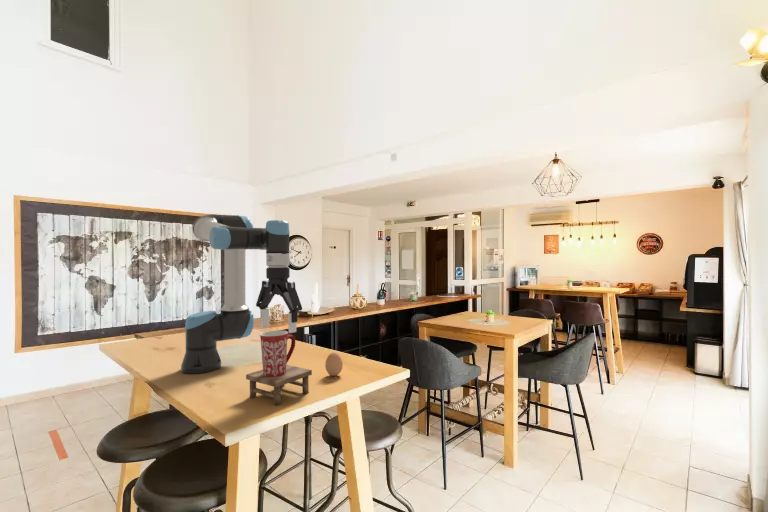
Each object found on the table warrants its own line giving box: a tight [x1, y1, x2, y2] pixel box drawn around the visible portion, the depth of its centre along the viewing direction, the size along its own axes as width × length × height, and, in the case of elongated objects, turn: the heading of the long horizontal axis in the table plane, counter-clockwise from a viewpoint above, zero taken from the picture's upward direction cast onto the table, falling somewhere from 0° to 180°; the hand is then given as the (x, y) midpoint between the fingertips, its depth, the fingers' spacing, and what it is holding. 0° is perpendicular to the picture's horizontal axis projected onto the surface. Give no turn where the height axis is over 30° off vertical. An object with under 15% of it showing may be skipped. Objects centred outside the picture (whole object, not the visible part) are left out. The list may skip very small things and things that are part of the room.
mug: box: [259, 330, 296, 377], centre depth 126 cm, size 13×9×14 cm
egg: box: [325, 351, 344, 377], centre depth 146 cm, size 7×7×9 cm
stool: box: [245, 364, 313, 406], centre depth 126 cm, size 15×15×8 cm
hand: (278, 330), depth 127 cm, fingers open, 13 cm apart
